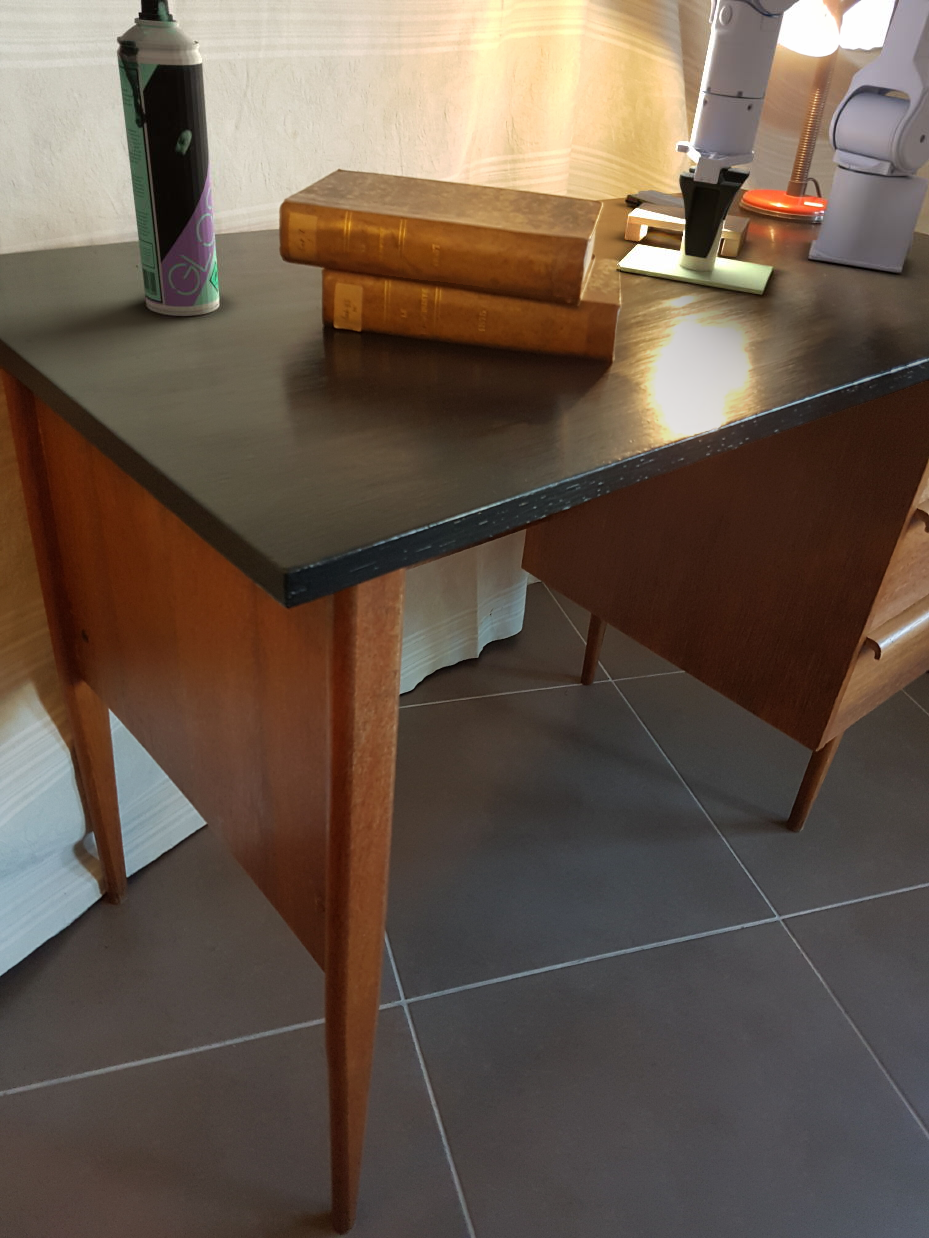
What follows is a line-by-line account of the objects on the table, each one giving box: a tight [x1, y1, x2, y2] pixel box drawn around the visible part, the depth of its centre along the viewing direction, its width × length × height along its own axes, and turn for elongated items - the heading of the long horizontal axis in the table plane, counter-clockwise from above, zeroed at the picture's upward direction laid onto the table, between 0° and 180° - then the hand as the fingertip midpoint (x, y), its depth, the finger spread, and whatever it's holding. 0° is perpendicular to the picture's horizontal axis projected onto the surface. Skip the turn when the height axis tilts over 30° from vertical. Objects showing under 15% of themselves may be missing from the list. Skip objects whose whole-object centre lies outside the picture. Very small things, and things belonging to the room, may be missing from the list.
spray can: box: [116, 0, 220, 317], centre depth 68 cm, size 6×6×20 cm
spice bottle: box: [678, 220, 724, 271], centre depth 92 cm, size 4×4×7 cm
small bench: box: [624, 202, 751, 258], centre depth 104 cm, size 12×8×2 cm, turn 69°
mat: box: [618, 244, 774, 296], centre depth 94 cm, size 14×10×1 cm
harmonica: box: [624, 189, 684, 209], centre depth 113 cm, size 15×3×2 cm, turn 36°
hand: (699, 251), depth 93 cm, fingers closed on spice bottle, 3 cm apart
